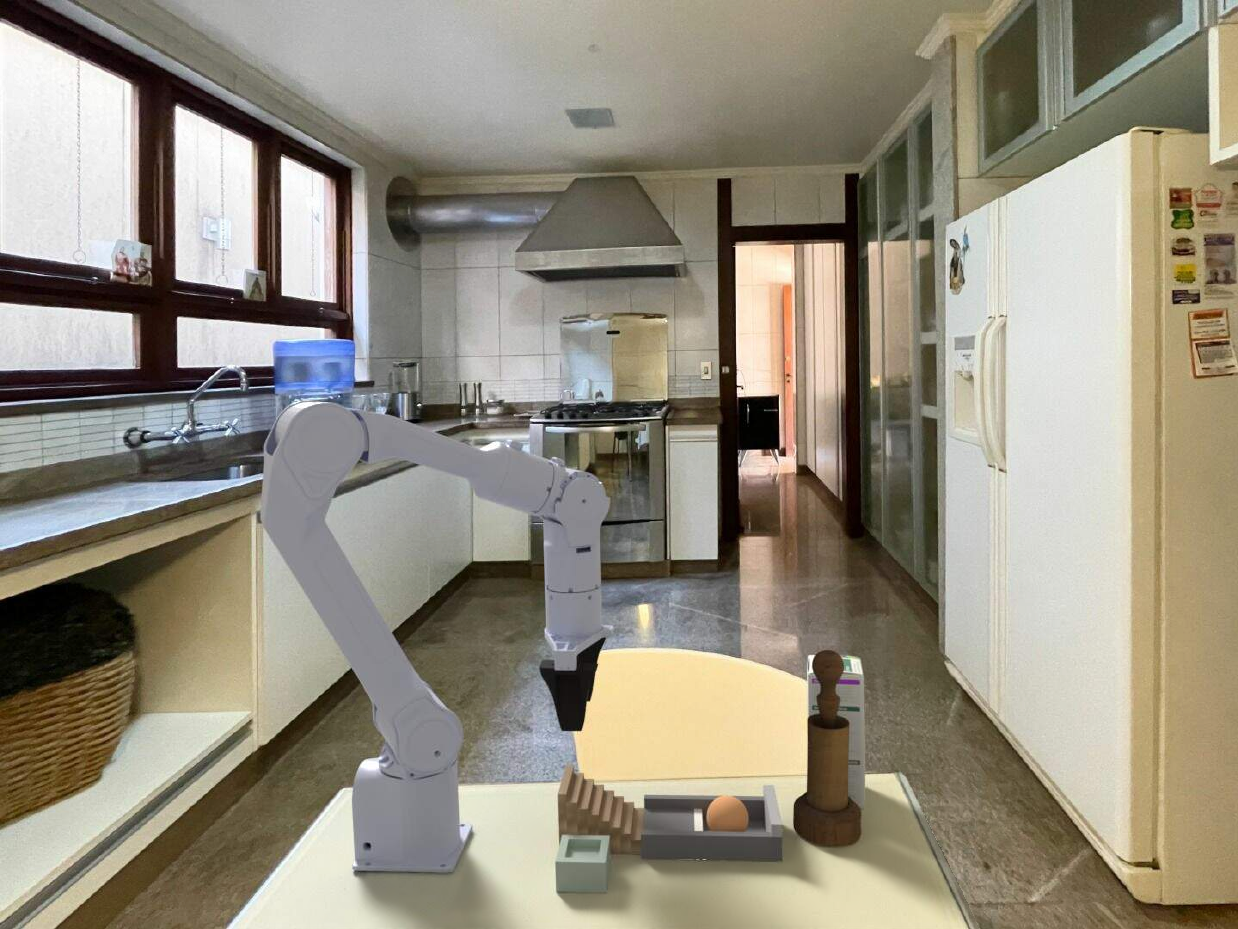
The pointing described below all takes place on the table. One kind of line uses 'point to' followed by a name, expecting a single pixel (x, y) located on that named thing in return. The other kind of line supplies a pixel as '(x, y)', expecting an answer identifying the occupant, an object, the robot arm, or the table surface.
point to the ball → (727, 815)
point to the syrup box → (853, 711)
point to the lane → (685, 833)
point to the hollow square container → (583, 864)
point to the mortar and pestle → (827, 766)
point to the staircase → (598, 813)
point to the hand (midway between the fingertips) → (576, 714)
